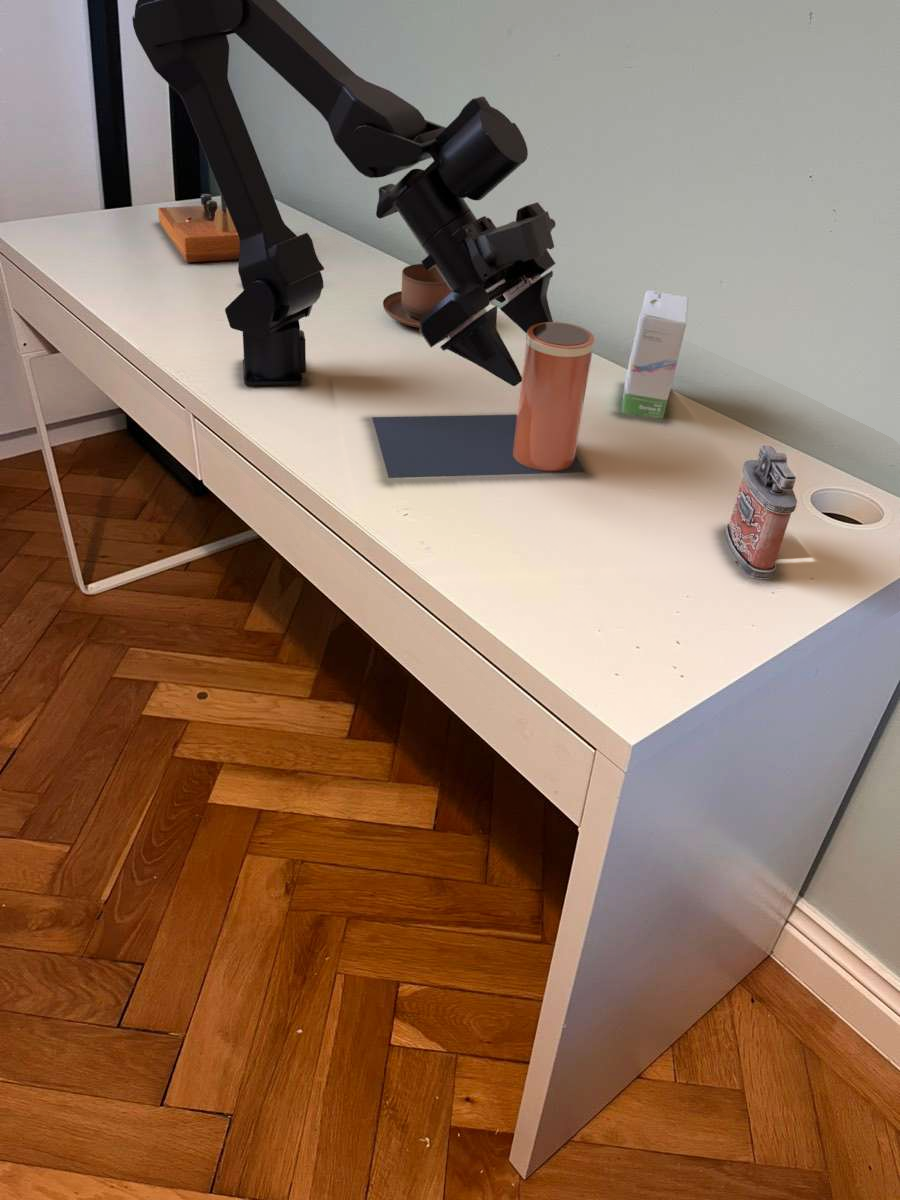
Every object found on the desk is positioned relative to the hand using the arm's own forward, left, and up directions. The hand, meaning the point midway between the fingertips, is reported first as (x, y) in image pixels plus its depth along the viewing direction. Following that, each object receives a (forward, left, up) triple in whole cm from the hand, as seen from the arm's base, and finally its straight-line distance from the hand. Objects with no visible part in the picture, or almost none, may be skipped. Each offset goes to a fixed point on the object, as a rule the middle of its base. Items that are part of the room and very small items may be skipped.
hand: (538, 367), depth 97 cm
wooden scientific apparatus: (-30, +64, -10) cm, 72 cm away
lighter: (+16, -20, -10) cm, 27 cm away
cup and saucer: (-4, +37, -10) cm, 39 cm away
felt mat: (-5, +2, -9) cm, 11 cm away
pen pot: (+1, -1, -9) cm, 9 cm away
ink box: (+17, +11, -10) cm, 23 cm away
